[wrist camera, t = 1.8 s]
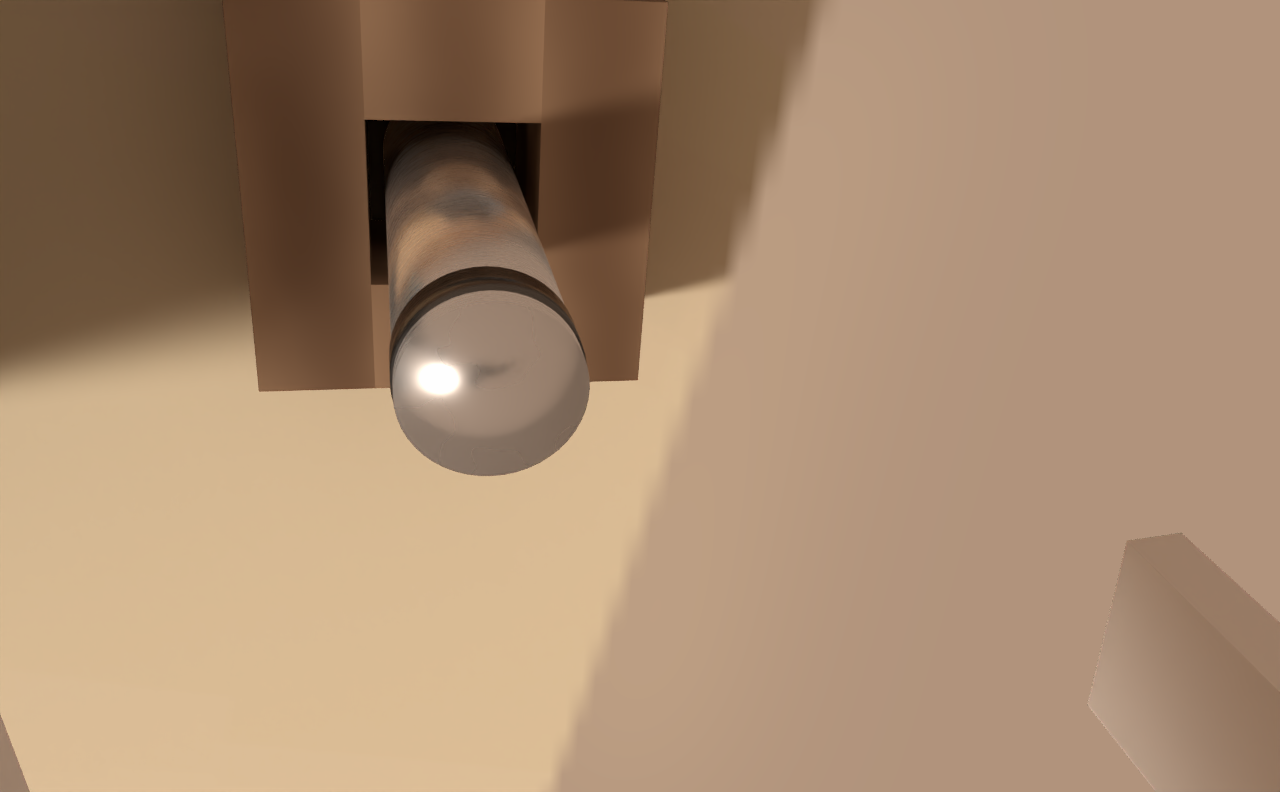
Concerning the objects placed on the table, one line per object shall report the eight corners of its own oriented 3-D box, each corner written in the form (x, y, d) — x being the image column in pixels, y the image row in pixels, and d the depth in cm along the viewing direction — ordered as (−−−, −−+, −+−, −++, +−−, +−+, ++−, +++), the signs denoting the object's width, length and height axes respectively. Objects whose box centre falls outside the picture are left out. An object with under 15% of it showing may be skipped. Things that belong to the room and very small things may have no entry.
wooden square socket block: (273, 313, 40) (258, 391, 35) (242, -47, 34) (220, -18, 29) (605, 308, 42) (637, 380, 37) (626, -27, 37) (668, 2, 32)
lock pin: (383, 206, 39) (393, 482, 23) (379, 87, 37) (387, 301, 21) (502, 207, 40) (586, 473, 24) (504, 90, 38) (597, 297, 22)
